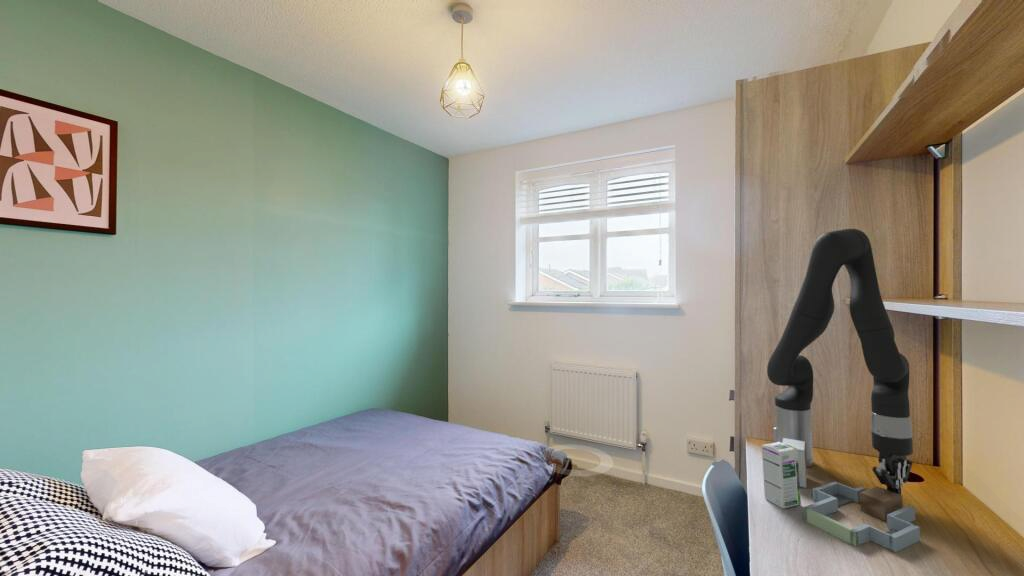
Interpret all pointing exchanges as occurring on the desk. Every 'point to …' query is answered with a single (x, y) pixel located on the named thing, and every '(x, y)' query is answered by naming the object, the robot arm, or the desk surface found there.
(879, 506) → the walnut block
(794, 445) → the small box
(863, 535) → the trap channel
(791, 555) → the desk surface
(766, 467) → the syrup box
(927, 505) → the desk surface
